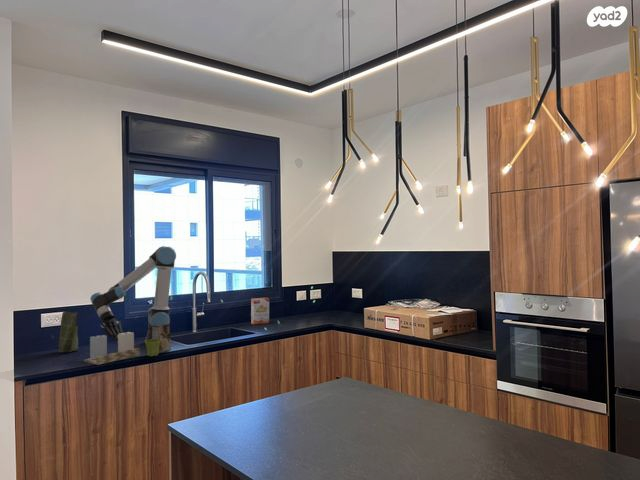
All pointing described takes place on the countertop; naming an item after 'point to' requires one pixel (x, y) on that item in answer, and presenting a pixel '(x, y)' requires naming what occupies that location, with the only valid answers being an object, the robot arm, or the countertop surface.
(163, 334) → the coffee box
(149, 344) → the plant pot
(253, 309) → the cracker box
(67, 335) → the pouch
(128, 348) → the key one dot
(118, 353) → the console
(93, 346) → the grey upright block
